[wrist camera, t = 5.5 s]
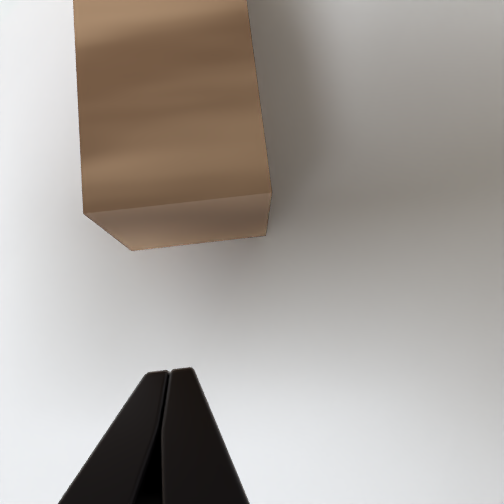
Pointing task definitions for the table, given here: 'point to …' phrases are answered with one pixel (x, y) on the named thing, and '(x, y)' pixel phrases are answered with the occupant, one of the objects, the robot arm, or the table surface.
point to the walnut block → (170, 121)
